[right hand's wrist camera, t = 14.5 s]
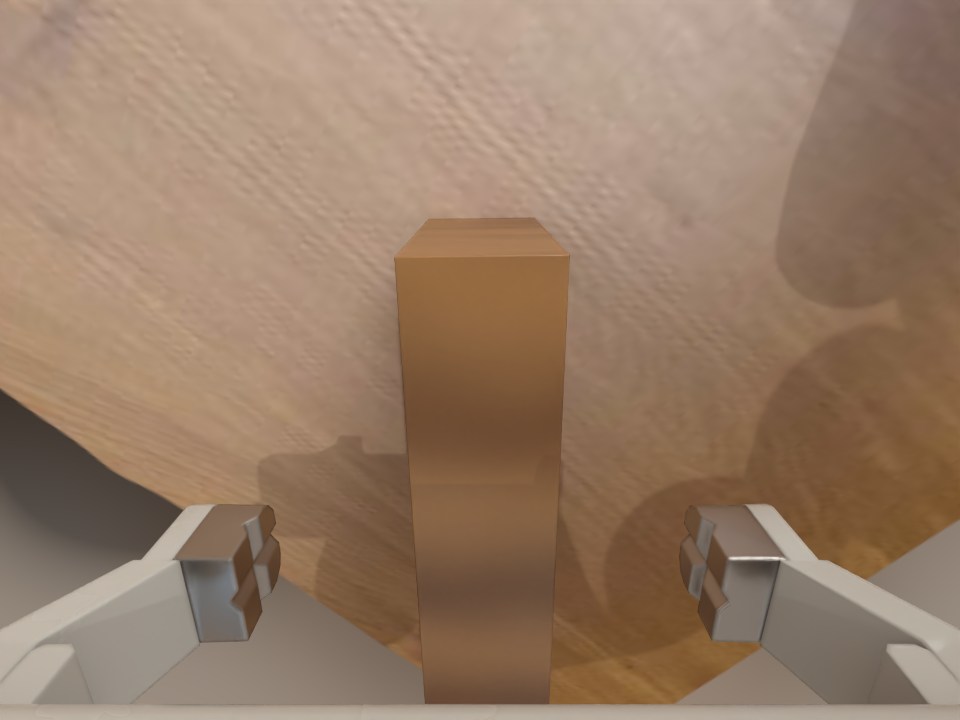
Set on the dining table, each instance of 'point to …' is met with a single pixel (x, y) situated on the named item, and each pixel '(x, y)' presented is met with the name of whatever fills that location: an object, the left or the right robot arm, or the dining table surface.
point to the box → (484, 450)
